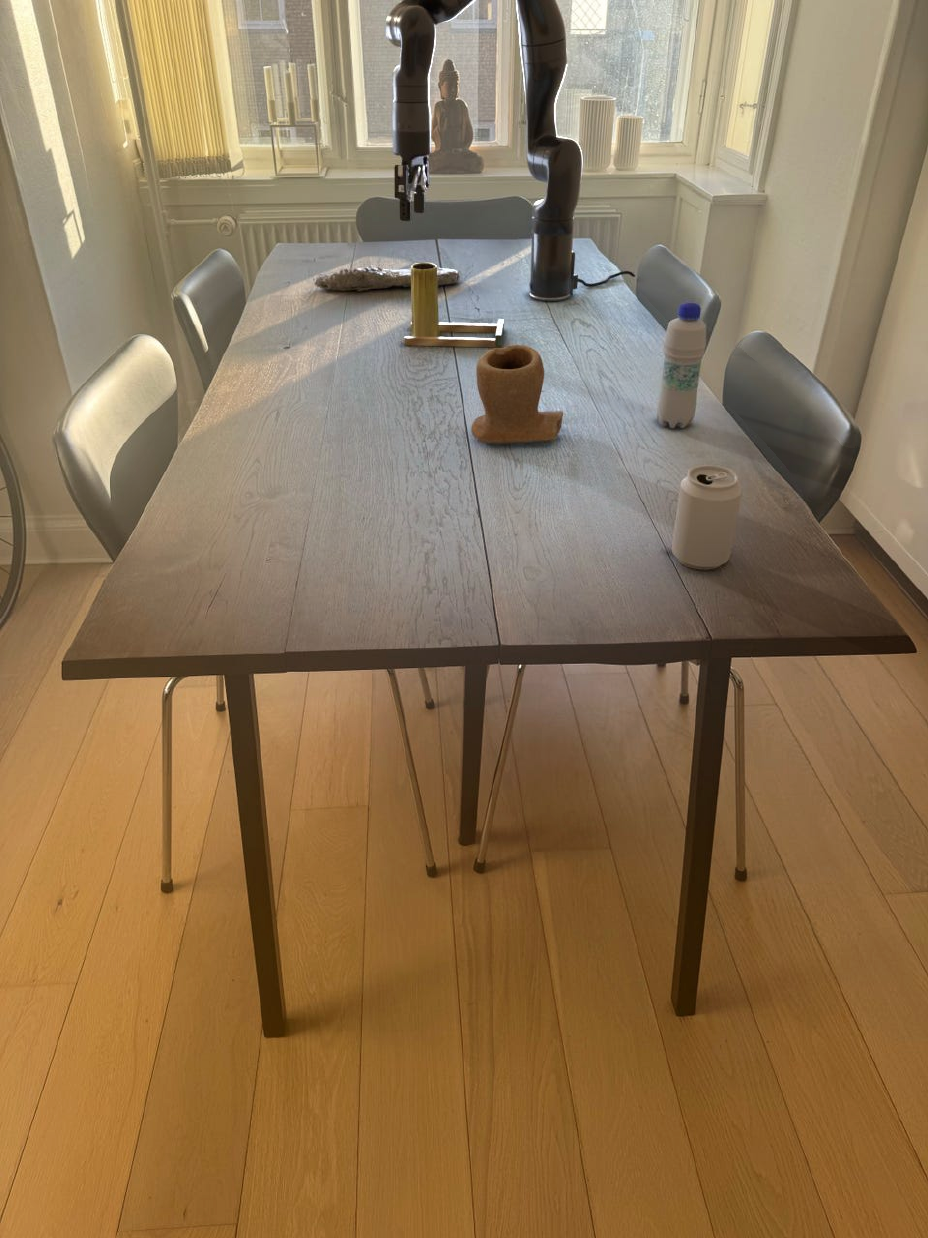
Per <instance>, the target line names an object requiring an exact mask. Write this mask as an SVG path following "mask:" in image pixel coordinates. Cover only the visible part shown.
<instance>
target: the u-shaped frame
mask: <svg viewBox="0 0 928 1238" xmlns="http://www.w3.org/2000/svg"><path fill="white" fill-rule="evenodd" d="M409 327H410V332H412V321H410V324H409ZM439 332H445V333H446V332H449V333H452V332H453V333H486V334H487V333H489V334H491V333H493V334H495V338H494V337H460V336H459V337H458V336H457V337H456V336H453V337H452V336H440V337H418V336H411V335H406V336H404V338H403V339H404V346H415V347H416V346H418V347H421V346H423V347H454V348H455V347H457V348H458V347H459V348H460V347H462V348H492V349H495V348H502V344H503V339H504V332H505V319H501V318H498V320H497V323H474V322H473V323H471V322H439Z"/></svg>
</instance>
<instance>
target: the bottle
mask: <svg viewBox="0 0 928 1238" xmlns="http://www.w3.org/2000/svg"><path fill="white" fill-rule="evenodd" d="M701 310H702V308H701V306H700V304H698V303H696V302H692V301H691V302H683V303H681V304H680V306H679V308H678V313H677V318H674V319H672V320H670V321H669V322H668V324H667V327H666V332H665V336H664V340H663V348H662V351H663V355H664V357H663V366H662V374H661V382H660V390H659V395H658V400H657V405H656V406H657V407H656V418H657V421H659V424H660V425H661V426H663V427H666V426H667V425H669V428H670V429H675V427H676V425H677V424H679V428H680V429H684V428H687V426H690V425H691V424H692V423H693V422H694V418H695V415H696V408H697V397H698V395H697V394H698V386H699V380H700V373H701V365H702V359H703V357H704V355H705V353H706V351H705V349H706V347H707V324H706V323H705V322H704V321H702V320H700V318H701Z"/></svg>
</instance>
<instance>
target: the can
mask: <svg viewBox="0 0 928 1238" xmlns="http://www.w3.org/2000/svg"><path fill="white" fill-rule="evenodd" d="M686 475H687V476H686V477H684V478H683V479H682V480H681V482H680V485H679V493H678V499H677V507H676V508H677V509H676V513H675V521H674V527H673V528H674V529H673V534H672V540H671V547H670V548H671V553H672V554H673V556H674V557H675V558H676V559H677V560H678V561H679V562H680V563H681V564H682V565H684V566H686V567H689V568H691V569H696V570H703V571H706V570H707V571H708V570H713V569H717V568H719V567H720V566H721V565H724V564H726V563H727V562H728V561H729V560H730V558H731V554H732V550H733V549H732V548H733V542H734V539H735V532H736V528H737V527H736V526H737V521H738V516H739V510H740V504H741V499H742V494H743V488H742V485H741V484H740V483H739V481H740V478H739V474H737V473H736V472H735V471H734V470H732V469H730V468H728V467H724V466H721V465H715V464H701V465H697V466H694V467H691V469H688V471H687V473H686Z"/></svg>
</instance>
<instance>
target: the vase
mask: <svg viewBox="0 0 928 1238" xmlns="http://www.w3.org/2000/svg"><path fill="white" fill-rule="evenodd" d="M437 268H438V265H437V264H435V263H431V262H418V263H414V264H412V265H410V269H411V286H410V295H411V296H410V300H411V302H410V305H411V322H412V331H411V332H410V333H411V334H410V336H418V337H441V331H439V323H440V321H439V319H440V318H439V299H438V298H439V296H438V286H437Z"/></svg>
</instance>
